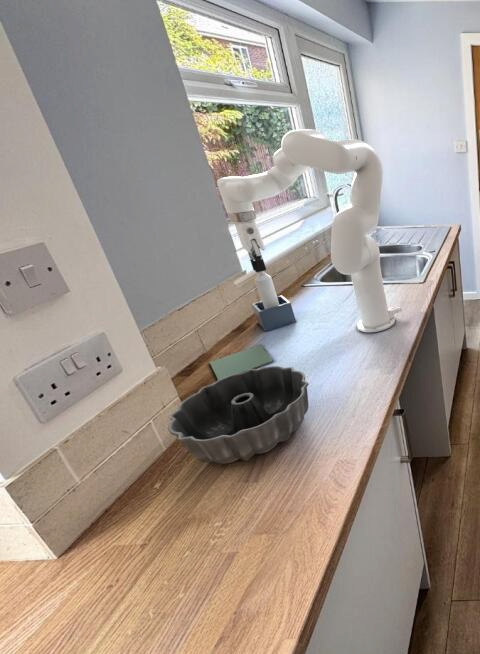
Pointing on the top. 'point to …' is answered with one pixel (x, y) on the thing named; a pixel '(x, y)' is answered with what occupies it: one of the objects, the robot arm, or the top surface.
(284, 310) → the box
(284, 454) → the top surface
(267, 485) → the top surface
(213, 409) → the bundt pan
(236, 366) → the mat
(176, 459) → the top surface
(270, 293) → the bottle
